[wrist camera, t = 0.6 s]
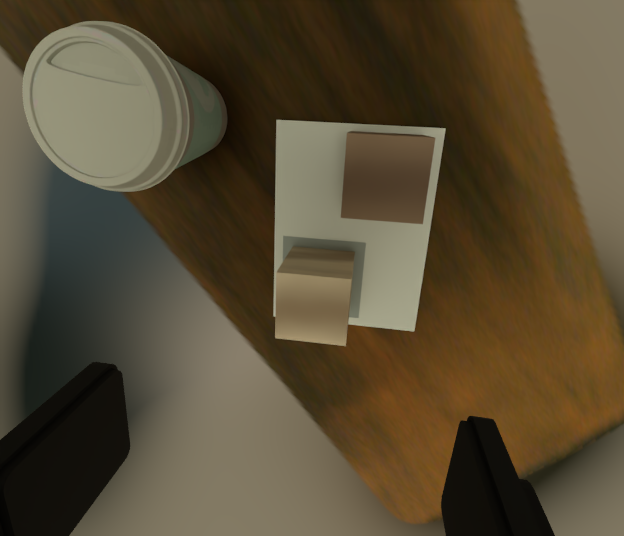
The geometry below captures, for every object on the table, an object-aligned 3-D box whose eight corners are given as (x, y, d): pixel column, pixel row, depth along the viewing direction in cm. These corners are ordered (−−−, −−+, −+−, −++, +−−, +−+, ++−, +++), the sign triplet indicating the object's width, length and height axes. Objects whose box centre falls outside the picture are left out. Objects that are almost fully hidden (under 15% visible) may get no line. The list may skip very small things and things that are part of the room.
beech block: (292, 246, 32) (276, 272, 27) (354, 251, 32) (351, 279, 26) (290, 302, 34) (275, 338, 28) (349, 308, 33) (345, 346, 28)
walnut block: (351, 131, 29) (346, 133, 23) (422, 134, 28) (435, 137, 23) (346, 200, 30) (340, 217, 25) (413, 205, 30) (422, 224, 24)
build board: (280, 119, 30) (276, 119, 29) (442, 128, 29) (445, 128, 28) (276, 310, 36) (273, 316, 35) (412, 324, 34) (414, 331, 33)
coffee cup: (267, 114, 30) (207, 109, 19) (200, 193, 33) (113, 229, 22) (182, 26, 29) (63, -35, 18) (119, 116, 32) (-17, 113, 21)
